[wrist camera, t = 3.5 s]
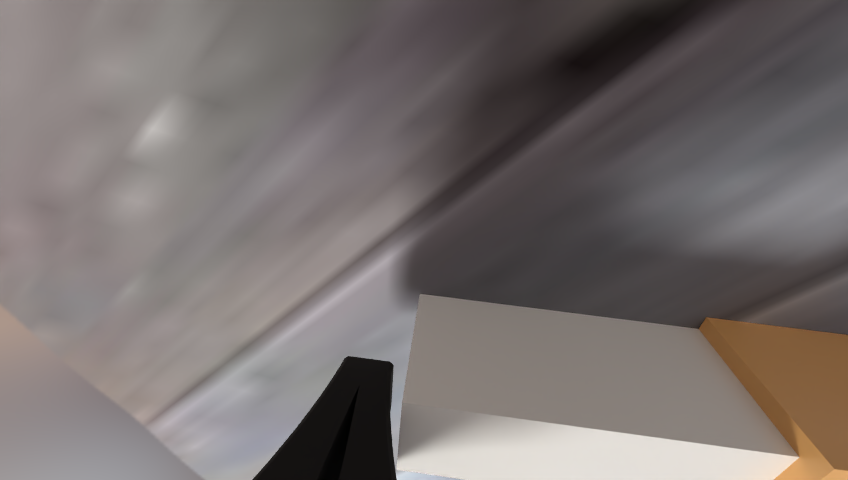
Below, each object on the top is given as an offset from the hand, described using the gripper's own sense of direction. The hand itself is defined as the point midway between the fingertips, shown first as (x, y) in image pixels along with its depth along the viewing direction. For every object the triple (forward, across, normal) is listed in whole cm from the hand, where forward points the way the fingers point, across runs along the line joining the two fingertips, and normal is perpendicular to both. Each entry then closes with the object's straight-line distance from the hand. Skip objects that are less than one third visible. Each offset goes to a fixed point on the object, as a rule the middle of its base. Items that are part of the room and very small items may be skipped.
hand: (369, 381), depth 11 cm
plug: (+2, -8, 0) cm, 8 cm away
